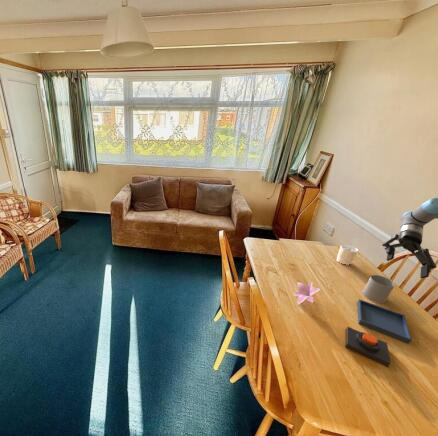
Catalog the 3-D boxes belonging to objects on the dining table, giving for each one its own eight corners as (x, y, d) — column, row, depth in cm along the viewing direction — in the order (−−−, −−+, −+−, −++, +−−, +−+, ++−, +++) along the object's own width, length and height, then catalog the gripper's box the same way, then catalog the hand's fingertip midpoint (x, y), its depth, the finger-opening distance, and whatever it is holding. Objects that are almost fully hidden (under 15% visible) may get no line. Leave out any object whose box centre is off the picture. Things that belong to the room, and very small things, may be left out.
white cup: (343, 258, 142) (349, 244, 138) (355, 265, 135) (361, 251, 131) (331, 258, 142) (337, 244, 137) (342, 266, 134) (348, 252, 130)
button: (375, 340, 87) (377, 336, 86) (376, 347, 84) (378, 344, 83) (361, 334, 89) (363, 331, 88) (362, 341, 86) (363, 338, 86)
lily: (296, 289, 118) (291, 277, 115) (324, 292, 110) (320, 278, 106) (294, 309, 111) (289, 296, 107) (324, 313, 103) (319, 300, 99)
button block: (384, 346, 88) (389, 339, 87) (387, 367, 81) (393, 359, 79) (345, 330, 95) (348, 323, 93) (345, 347, 88) (349, 340, 86)
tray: (402, 319, 100) (404, 315, 99) (408, 344, 89) (411, 339, 88) (357, 302, 109) (358, 299, 108) (358, 323, 98) (360, 319, 97)
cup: (359, 293, 114) (367, 278, 110) (367, 288, 117) (375, 272, 113) (380, 305, 107) (390, 288, 103) (388, 299, 111) (398, 283, 106)
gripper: (432, 253, 112) (430, 287, 102) (376, 226, 119) (369, 255, 110) (449, 246, 105) (449, 282, 96) (389, 218, 113) (383, 249, 103)
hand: (406, 268), depth 103 cm, fingers open, 13 cm apart
